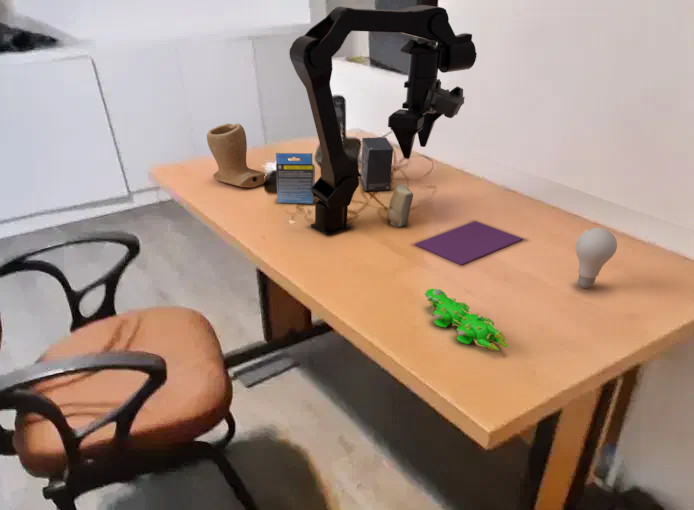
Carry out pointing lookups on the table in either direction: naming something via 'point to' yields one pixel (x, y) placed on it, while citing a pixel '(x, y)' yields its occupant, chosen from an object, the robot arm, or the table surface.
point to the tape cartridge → (295, 178)
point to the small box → (376, 164)
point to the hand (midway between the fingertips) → (415, 152)
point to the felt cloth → (468, 242)
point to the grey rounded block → (400, 206)
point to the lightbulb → (593, 254)
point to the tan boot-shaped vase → (232, 156)
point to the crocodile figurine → (464, 321)
